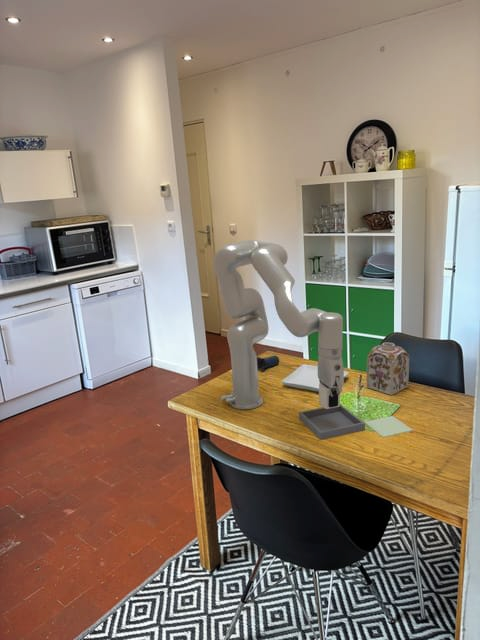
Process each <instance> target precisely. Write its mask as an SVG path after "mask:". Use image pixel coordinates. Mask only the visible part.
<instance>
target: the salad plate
mask: <svg viewBox="0 0 480 640" xmlns="http://www.w3.org/2000/svg"><path fill="white" fill-rule="evenodd" d="M349 373H350V372H349V371H347V370H344V379H345V378H346V377H347V376H348V375H349ZM281 383H282V384H283V385H285V386H287V387H291V388H296V389H302V390H306V391H311V392H312V391H313V392H317V393H319V383H320V381H319V378H318V365H314V364H313V365H311V364H305V363H303V364H301V365H300V366H299V367H298V368H296V369H295V370H294V371H292V373H290V374H288V375H287V376H286V377H285V378H284V379H282V380H281Z"/></svg>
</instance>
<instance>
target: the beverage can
mask: <svg viewBox="0 0 480 640" xmlns="http://www.w3.org/2000/svg"><path fill="white" fill-rule="evenodd" d="M279 363H280V358H279V356H277V355H271V356H266V357H259V356H257V370H258V371H260V372H261V373H264V372H265V370H266V368H271V367H274V366H277V365H279Z"/></svg>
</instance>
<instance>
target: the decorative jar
mask: <svg viewBox="0 0 480 640" xmlns="http://www.w3.org/2000/svg"><path fill="white" fill-rule="evenodd" d="M409 374H410V354H408V352H407V351H406V350H405V349H404V348H403V347H401V346H399V345H396V344H395V343H393V342H387V341H386V342H383V343H382V344H378V345H377V346H374V347H372V349H371V350H370V351H369V353H368V354H367V357H366V388H367V389H368V390H369V389H370V390H372V391H376V392H378V393H381V394H385V395H388V396H394V395H396V394H398V393H399V392H402V391H403V390H404V389H407V388H408V387H409V377H410V375H409Z"/></svg>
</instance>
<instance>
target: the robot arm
mask: <svg viewBox="0 0 480 640" xmlns="http://www.w3.org/2000/svg"><path fill="white" fill-rule="evenodd" d="M288 257H289V256H288V252H287V251H286V249H285V248H284V247H283V246H282V245H280V244H278V243H274V242H267V241H260V240H254V239H246V240H241V241H236V242H232V243H228V244H226V245H224V246H221V247H220V248H219V249H218V250H217V251H216V253H215V255H214V258H213V268H214V272H215V275H216V278H217V281H218V283H219V289H220V294H221V298H222V302H223V306H224V310H225V313H226V315H227V317H229V318H230V319H232V320H237V319H240V318H243V317H244V318H245V319H243V320H240V321H238V322H235V323H233V324H232V325H231V326H230V327H229V328H228V329H227V332H226V338H227V339H226V340H227V343H228V347H229V353H230V360H231V361H230V363H231V364H230V365H231V375H232V376H231V377H232V390H231V391H230V393H228V394H226V395H221V396H220V399H221V402H224V401H225V402H226V403H229V405H230V406H231V407H233V408H235V409H237V410H252V409H256V408H258V407H261V406H262V405H263V403H264V398H263V396H261V395H260V394H259V392H260V391H259V375H258V374H259V373H258V371H259V370H257V357H258V356H257V353H256V351H255V349H254V347H253V345H255V344H257V343H259V342H260V341H262V340H264V339H265V338H266V337H267V336H268V334H269V323H268V322H269V321H268V316H267V312H266V308H265V303H264V300H263V298H262V295H261V294H260V292H259V291H258V290H257V289H254V288H252V287H247V288H245V285H244V280H243V278H242V275H241V274H240V272H239V271H238V270H237V268H240V267H244V266H248V265H251V266H252V267H253V269H254V270H255V271H256V272H257V274H258V275H259V277H260V278H261V280H262V281H263V282H264V283H265V285H266V287H268V289H269V290H270V292H271V293H272V294H273V298H274V306H275V310H276V314H277V315H278V318H279V319H280V321H281V322H282V324H283V325H284V327H285V328H286V329H287V330H288V331H289V333H291V335H293V336H294V337H296V338H306V337H307V336H309V335H311V334H313V333H317V332H318V342H317V343H318V344H317V345H318V349H317V351H318V354H317V355H318V359H317V366H318V378H319V381H320V383H324V384H325V385H327V386H328V387H329V390H330V396H329V407H335V406H338V396H339V394H340V395H341V393H342V392H343V387H344V385H345V378H344V371H345V370H344V361H343V357H342V356H343V336H344V335H343V333H344V332H343V331H344V329H343V328H344V326H343V325H344V318H343V315H341V314H340V313H338V312H328V311H325V310H322V309H319V308H315V307H311V308H308V309H306V310H304V311H300V310H299V309H298V308H297V306H296V304H295V303H294V301H293V298H292V290H293V288H294V287H293V286H294V285H295V284H296V283H295V282H296V281H295V277H294V276H292V274H291V273H290V272H289V270H288V269H287V267H286V266H285V265H286V264H287V263H288V259H289V258H288ZM333 385H336V386H333ZM334 388H336V390H334V391H333V389H334Z"/></svg>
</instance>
